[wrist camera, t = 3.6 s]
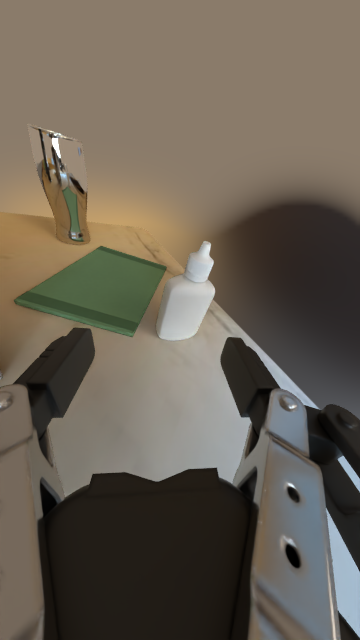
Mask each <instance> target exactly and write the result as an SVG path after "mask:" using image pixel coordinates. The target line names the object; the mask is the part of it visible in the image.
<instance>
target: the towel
mask: <svg viewBox="0 0 360 640" xmlns="http://www.w3.org/2000/svg"><path fill="white" fill-rule="evenodd" d="M165 270H166V266H163V265H160V264H157V263H154V262H151V261H147V260H144V259H141V258H138V257H135V256H132V255H129V254H125V253H122V252H119V251H116V250H113V249H110V248H107V247H103V246H100V247H99V248H97V249H96V250H94V251H93V252H91V253H89V254H88V255H86V256H84V257H83V258H81V259H80V260H78V261H76V262H75V263H73V264H72V265H70V266H68V267H67V268H65V269H63V270H62V271H60V272H59V273H57V274H55V275H54V276H52V277H51V278H49V279H47V280H46V281H44V282H42V283H41V284H39V285H38V286H36V287H34V288H33V289H31V290H30V291H27V292H26V293H24V294H23V295H21V296H19V297H18V298H17V299H15V300H14V302H15V303H16V304H18V305H21V306H25V307H28V308H32V309H35V310H39V311H42V312H46V313H49V314H53V315H56V316H60V317H63V318H67V319H70V320H74V321H78V322H81V323H85V324H88V325H92V326H95V327H99V328H102V329H106V330H109V331H113V332H116V333H120V334H123V335H127V336H130V337H133V335H134V333H135V331H136V329H137V327H138V325H139V323H140V321H141V319H142V317H143V315H144V313H145V311H146V309H147V307H148V305H149V303H150V301H151V299H152V297H153V295H154V293H155V290H156V288H157V286H158V284H159V282H160V280H161V278H162V276H163V274H164V272H165Z"/></svg>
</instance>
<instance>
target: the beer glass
mask: <svg viewBox="0 0 360 640" xmlns="http://www.w3.org/2000/svg"><path fill="white" fill-rule="evenodd" d="M27 126H28V130H29V136H30V142H31V147H32V152H33V157H34V161H35V165H36V169H37V172H38V176H39V178H40V181H41V184H42V187H43V189H44V192H45V194H46V196H47V199H48V201H49V204H50V206H51V209H52V211H53V215H54V218H55V224H56V237H57V239H59V240H60V241H62V242H65V243H68V244H76V245H81V244H87V243H89V242H90V241H91V238H90V234H89V231H88V227H87V221H86V209H87V175H86V166H85V160H84V155H83V149H82V142H81V141H79V140H77V139H74V138H71V137H68V136H66V135H63V134H60V133H57V132H54V131H51V130H48V129H45V128H42V127H39V126H35V125H32V124H28V123H27Z"/></svg>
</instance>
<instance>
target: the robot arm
mask: <svg viewBox="0 0 360 640" xmlns="http://www.w3.org/2000/svg"><path fill="white" fill-rule="evenodd" d="M94 356H95V347H94V342H93V337H92V332H91V329H89V328H73V329H72V330H71V331H70V332H69V334H68V335H67V336H62V337H60V338H59V339H57V340H55V341H54V342H52V343H51V344H50V345H49V346H48V347H47V348H46V349H45V351H44V352H43V353H42V354H41V355H40V356H39V358H37V359H36V360H35V361H34V362H33V363H32V364H31V365H30V366H29V367H28V369H27V370H26V371H25V372H24V373H23V374H22V375H21V376H20V377H19V378H18V379H17V380H16V381H15V382H14V383H13V384H11V385H6V386H3V387H0V640H360V638H359V637H358V635H357V634H356V633H355V631H354V630H353V629H352V628H351V626H350V625H349V624H348V623H347V621H346V620H345V619H344V618H343V616H342V615H341V614H340V613H339V611H338V610H337V601H336V592H335V583H334V574H333V565H332V557H331V548H330V539H329V530H328V521H327V513H326V508H327V510H328V512H329V514H330V516H331V518H332V519H333V521H334V523H335V525H336V527H337V529H338V531H339V533H340V535H341V537H342V539H343V541H344V542H345V544H346V546H347V548H348V550H349V552H350V554H351V556H352V558H353V560H354V562H355V563H356V565H357V567H358V569H359V571H360V492H359V491H358V489H357V488H356V486H355V485H354V483H353V482H352V480H351V479H350V477H349V476H348V474H347V473H346V472H345V470H344V469H343V467H342V466H341V464H340V463H339V461H338V460H337V459H338V458H340V457H341V456H344V457H345V458H346V460H347V461H348V463H349V464H350V465H351V467H352V468H353V470H354V471H355V472H356V474H357V475H358V477H359V478H360V420H359V419H358V418H357V417H356V416H355V415H353V414H352V413H351V412H349V411H348V410H346V409H344V408H342V407H340V406H337V405H333V404H330V405H327V406H326V407H325V408H324V409H323V410H319V409H315V408H312V407H309V406H306V405H303V403H302V402H301V401H300V400H299V399H298V398H297V397H296V396H295V395H293V394H292V393H290V392H289V391H286V390H283V389H281V388H280V387H279V385H278V384H277V382H276V381H275V379H274V378H273V376H272V375H271V374H270V372H269V371H268V369H267V368H266V366H265V365H264V363H263V362H262V361H261V359H260V358H259V356H258V355H257V353H256V352H255V351H254V350H252V349H251V348H250V347H249V346H246V344H245V343H244V341H243V340H242V339H241V338H234V337H228V338H227V340H226V342H225V345H224V348H223V351H222V354H221V366H222V369H223V371H224V374H225V376H226V379H227V382H228V384H229V387H230V390H231V392H232V395H233V397H234V400H235V403H236V405H237V408H238V410H239V413H240V416H241V417H250V420H251V424H250V426H249V430H248V434H247V438H246V442H245V446H244V450H243V454H242V458H241V461H240V464H239V467H238V469H237V471H236V474H235V476H234V479H233V483H232V484H231V483H230V482H228V481H226V480H224V479H222V478H219V476H218V471H217V468H204V469H188V470H186V471H183V472H181V473H178V474H176V475H174V476H171V477H169V478H166V479H164V480H162V481H159V482H155V481H152V480H148V479H145V478H142V477H139V476H136V475H132V474H129V473H126V472H122V473H101V474H92V478H91V481H90V484H89V485H86V486H84V487H82V488H80V489H78V490H76V491H75V492H73V493H72V494H70V495H69V496H67V497H66V498H65V494H64V490H63V486H62V483H61V480H60V477H59V475H58V472H57V468H56V463H55V458H54V452H53V447H52V442H51V437H50V432H49V428H48V425H49V423H50V421H51V419H52V418H63V417H64V415H65V413H66V411H67V409H68V407H69V405H70V403H71V401H72V400H73V398H74V396H75V394H76V392H77V390H78V388H79V386H80V384H81V382H82V381H83V379H84V377H85V375H86V373H87V371H88V369H89V367H90V365H91V363H92V361H93V359H94Z"/></svg>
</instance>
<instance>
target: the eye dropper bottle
mask: <svg viewBox="0 0 360 640" xmlns="http://www.w3.org/2000/svg"><path fill="white" fill-rule="evenodd" d="M210 247H211V243H209V242H207V241H204V242H203V244H202V246H201V247H200V249H199V251H198V252H192V253H191V254H190V255H189V258H188V261H187V265H186V268H185V271H184V274H180V275H177V276H174V277H172V278H170V279H169V280H168V281H167V282H166V284H165V287H164V291H163V295H162V300H161V304H160V308H159V313H158V317H157V322H156V331H157V334H158V336H159V337H160V338H161V339H164V340H171V341H178V340H184V339H187V338H190V337H192V336H193V335H195V334H196V332H197V330H198V328H199V326H200V324H201V322H202V320H203V318H204V316H205V314H206V311H207V309H208V307H209V305H210V303H211V301H212V299H213V296H214V294H215V288H214V286H213V285H212V283H211V282H210V281H209V280H207V278H208V275H209V273H210V270H211V268H212V266H213V263H214V261H213V259H212V258H211V257H210V256H209V252H210Z"/></svg>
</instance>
